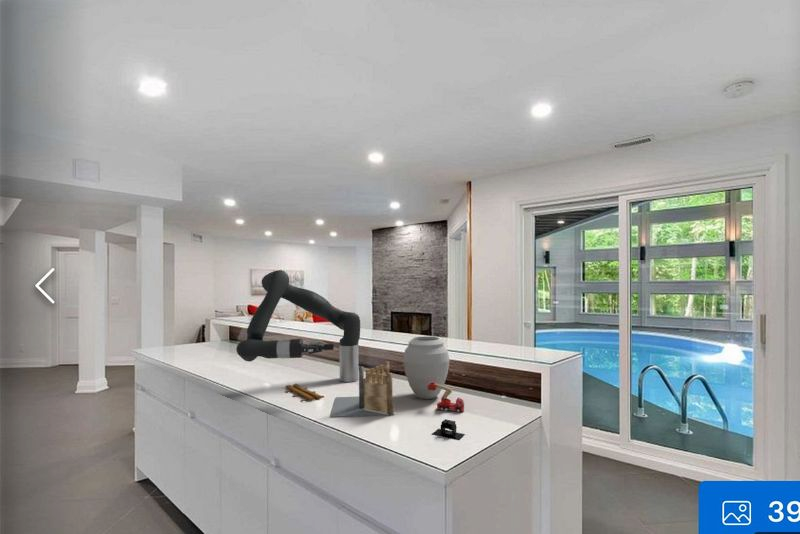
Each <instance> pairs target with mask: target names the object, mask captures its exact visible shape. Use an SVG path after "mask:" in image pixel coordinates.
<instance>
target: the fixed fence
mask: <svg viewBox="0 0 800 534" xmlns="http://www.w3.org/2000/svg"><path fill="white" fill-rule="evenodd" d="M364 368H365V367H364V366H363V365H362V366H358V396H359V408H360V409H363V408H364V378H366V381H365V409H370V410H375V411H380V412H385V413H387V414H389V415H387V416H390V417H391V416H393V415H392V414H393V410H394V405H393V397H394V396H393V372H389V373H387V375H383V383H382V374H377V373H372V381H371V373H370V372H367V373H366V372H365V371H364Z"/></svg>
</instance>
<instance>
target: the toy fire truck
mask: <svg viewBox="0 0 800 534" xmlns="http://www.w3.org/2000/svg"><path fill="white" fill-rule="evenodd" d="M436 388H440V389H441V390H444V391H445V392H444V393H443V395H442V396H441V398H440V401H438V402H437V403H436V409H437V410H440V411H446V412H448V411H453V412H457V413H460V412H461V413H463V412H465V401H464V399H462V398H460V397H457V398H456V400H455V402H452V401H451V399H450V398H448V397H449V396H450V395H451V393H452V392H453V390H452V388H450V387H447V386H445V385H444V386H442V385H439V384H437V382H434V383H430V384H429V385H428V390H433V391H435V390H436Z"/></svg>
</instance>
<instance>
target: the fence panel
mask: <svg viewBox="0 0 800 534" xmlns="http://www.w3.org/2000/svg"><path fill="white" fill-rule="evenodd" d="M367 372H370V373H371V381H372V373H377V374H382V383H383V375H387V373H390V361H386V360H385V361H384V362H383V364H380V365H379V366H378V365H377V366H374V367H370V369H369V368H367V369H365V374H366V373H367ZM365 381H366V377H364V406H365Z"/></svg>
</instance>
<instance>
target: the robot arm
mask: <svg viewBox="0 0 800 534" xmlns="http://www.w3.org/2000/svg"><path fill="white" fill-rule="evenodd" d="M261 285H262V288H263V290H264V291H265V292H266V294H265V296H264V298H263V300H262V301H261V303H260V304H259V305H258V307H257V309H256V310H255V311H254V313H253V315H252V317H251V319H250V321H249V324H248V326H247V329H246V334H247V337H246V339H244V340H242V341H240V342H239V343H237V346H236V349H235V350H236V353H237V355H238V356H239V357H240V358H241V359H242V360H243V361H245V362H253V361H255V360H256V359H257V358H258V357H262V358H264V359H269V360H270V359H300V358H303V354H304V353H306V354H308V355H310V354H311V355H312V354H316V353H321V352H324V351H333V350H334V349H335V344H334V343H324V342H320V341H312V342H311V341H308V342H307V343H304V340H303V339H302V338H288V339H278V340H277V339H276V340H264V336H265V333H266V332H267V328H268V326H269V324H270V322H271V318H272V316H273V314H274V311H275V310H276V307H277V306H278V304H279V302H280V300H281V298H282V299H284V300H286V301H288V302H289V303H292V304H293V305H295V306H297V307H299V308H300V309H303V310H304V311H306V312H308V313H310V314H312V315H314V316H316V317H317V318H318V317H319V318H321V319H324V320H327V321H328V322H329V323H331V324H332V325H334V326H335V327H337V328H338V329H340V330H341V331H343V336H342V337H341V338H339V381H340V382H343V383H352V382H353V383H354V382H357V381H359V340H360V337H361V319H360V316H359V314H358V313H355V312H352V311H351V312H349V311H344V310H342V309H339V308H337V307H335V306H333V305H332V303H331V302H329V300H328V299H326V298H325V297H324V296H322V295H320V294H318V293H317V292H316V291H315V292H314V291H312V290H310V289H306V288H301V287H298V286H294V285H293V284H290V277H289V274H288V273H287V272H286V271H284V270H282V269H279V270H274V271H272V272H271V271H270V272H269V273H267V274H265V275H264V276H263V277H262V278H261Z"/></svg>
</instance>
